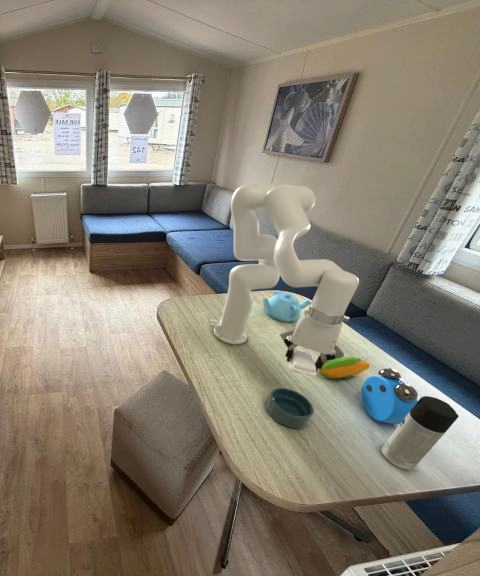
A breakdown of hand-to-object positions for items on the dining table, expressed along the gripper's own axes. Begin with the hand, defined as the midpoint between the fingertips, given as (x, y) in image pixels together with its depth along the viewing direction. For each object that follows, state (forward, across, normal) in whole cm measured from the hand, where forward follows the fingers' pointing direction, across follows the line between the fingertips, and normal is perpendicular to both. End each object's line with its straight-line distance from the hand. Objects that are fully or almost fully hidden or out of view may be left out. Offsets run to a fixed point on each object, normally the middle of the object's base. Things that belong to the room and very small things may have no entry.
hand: (301, 363), depth 92 cm
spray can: (+14, -27, +6) cm, 31 cm away
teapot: (+15, +8, -54) cm, 57 cm away
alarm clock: (+14, -24, -9) cm, 29 cm away
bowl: (+14, -1, +8) cm, 16 cm away
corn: (+15, -14, -24) cm, 31 cm away
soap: (+1, 0, 0) cm, 1 cm away
